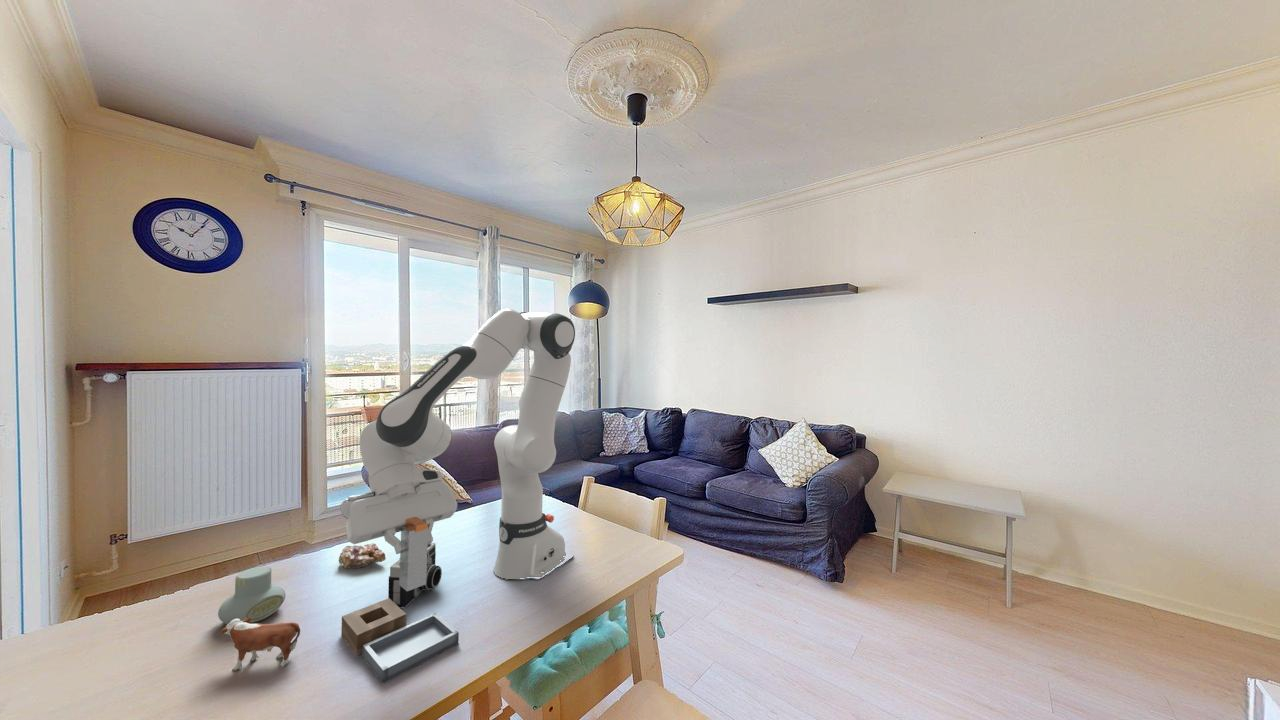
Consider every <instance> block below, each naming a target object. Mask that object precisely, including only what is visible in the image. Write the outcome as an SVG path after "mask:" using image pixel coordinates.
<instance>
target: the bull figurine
mask: <svg viewBox="0 0 1280 720" xmlns="http://www.w3.org/2000/svg"><path fill="white" fill-rule="evenodd" d="M250 620H251V618H246V619H244V620H243V621H240V619H234V620H232V621H231V622H230V623H229V624H226V625H225V627H224V628H222V629H221V630H220V635H221V634H222V635H223V634H224V635H229V637H230V639H231V641H232V643H233V644H234V645H233V647H234V648H235V649H236V650H237V651H238V656H237V659H236V660H237V663H236V664H235V665H234V667H233V668H232V670H231V671H233V672H237V671H238V670H239V669H240V668H242V667H243V664H242V663H243V661H244V659H245V658H246V657H245V656H246V654H247V653H251V658H250V659H249V661H250V662H255V660H257V659H258V658H259V654H258V653H257V652H264V651H267V652H268V653H269V652H271V651H272V649H274V647H275V648H278V649H280V651H281V652H279V654H278V655H276V658H277V659H281V658H282V657H283V659H282V661H281V662H280V664H279V665H278V666H279V668H282V667H284V666H285V665H286V664H288V662H289V659H290V658H289V657H290V654H291V653H292V652H293V651H294V649H296V645H297V643H298V638H299V637H300V635H301V628H300V625H299V623H298V622H278V623H264V624H263V623H259V622H256V623H252V624H249V623H248V622H249V621H250Z"/></svg>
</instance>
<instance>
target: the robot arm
mask: <svg viewBox="0 0 1280 720" xmlns="http://www.w3.org/2000/svg"><path fill="white" fill-rule="evenodd" d="M575 338H576V328H575V325H574V322H573V321H572V319H571V318H569V317H568V316H566V315H564V314H561V313H556V312H555V313H552V312H549V311H548V312H547V311H533V312H531V311H530V312H528V311H523V312H521V311H520V312H518V311H517V310H515V309H511V308H504V309H501V310H500V309H499V311H498V312H496V313H495V314H493V315H492V317H490V318H489V319H487V321H486V322H485V323H484V324H483V325H482V326H481V327H480V328H479V329H478V330H477V331H476V332H475V334H473V336H472V337H471V338H470V339H469V340H468V341H467V342H466V343H464V344H461V345H458V346H456V347H454V348H452V349H450V350H449V351H448V352H447V353H445V354H444V355H443V356H441V358H440V359H438V360H437V361H436V362H435V363H433V365H432V366H430V368H429V369H428V370H427V371H426V372H424V373H423V375H421V376H420V377H419V378H418V379H417V380H415V382H413V384H411V385H410V387H408V388H407V389H405V390H404V391H403V392H402V393H400V394H399V395H397V396H395V397H393V398H392V399H391V400H389V401H388V402H387V403H386V404H384V406H383V407H382V408H381V409H380V411H379V413H378V414H377V418H376V420H373V421H371V422H370V423H368V424H367V425H366V426H365V427H364V428H363V429H362V431H361V432H360V435H359V436H360V437H359V451H360V457H361V459H362V463H363V467H364V470H366V471H367V473H368V484H369V488H370V492H366V493H361V494H358V495H357V494H356V495H355V494H354V495H350V496H347V498H346V499H345V500H343V501H342V503H341V504H340V512H341V515H342V517H343V518H345V528H346V529H345V530H346V536H347V537H346V539H347V540H348V542H350V543H351V544H353V545H356V544H360V543H364V542H367V541H372V540H374V539H379V538H382V537H383V538H384V541H385V542H386V543H388V544H389V545H390V546H392V547H394V551H395V554H396V555H399V554H400V553H402V552H405V550H406V549H407V545H406V544H405V543H406V542H405V540H402V541H401V539H399V538H398V537H397V536H396V533H399V532H400V533H401V527H402V526H406V519H408V518H412V517H417V518H419V519H421V520H423V521H424V522H426V523H427V526H428V544H430V543H433V541H434V538H433V535H432V534H433V533H432V531H433V527H434V525H435V522H440V521H442V520H445V519H446V520H447V519H449V518H451V517H453V515H455V513H456V511H457V509H458V502H457V500H456V497H455V495H454V493H453V491H452V488H451V487H450V486H449V484H448V483H447V482H445V481H442V480H443V478H444V474H443V473H442V471H440V470H435V469H434V470H433V469H423V468H416V467H415V466H417V465H420V464H423V463H426V462H429V461H430V460H434V459H436V458H438V457H439V456H441V455H442V454H444V453H445V452H446V450H447V449H448V448H449V447H450V444H451V441H452V440H453V439H452V438H453V432H452V429H451V427H450V425H449V424H447V422H445V421H444V420H443V419H442V418H440V416H439V415H438V414H437V415H436V414H435V413H434V412H433V408H434V406H435V405H436V404H437V403H438V401H440V400H441V398H443V396H444V395H445V394H446V393H448V391H449V390H450V389H451V388H453V387H454V385H455V384H456V383H457V382H459V381H460V380H461V379H464V378H474V379H478V380H491V379H495V378H498V377H499V376H500V375H501V374H502V373H504V371H505V370H506V369H507V368H508V367H509V365H510V364H511V363H512V361H513V360H514V358H515V357H516V356H517V354H518V352H519V351H520V350H522V349H524V350H525V349H526V350H527V351H533V357H534V358H533V362H532V365H531V367H530V369H529V372H528V375H527V378H526V381H525V383H524V386H523V387H522V392H521V394H520V397H519V400H518V409H519V410H518V411H519V414H518V420H517V422H518V423H517V424H511V425H507V426H504V427H502V428H501V429H500V430H499V431H498V432H497V433H496V435H495V438H494V441H493V442H494V443H493V444H494V449H495V452H496V456H497V466H498V472H499V479H500V488H501V489H500V490H501V509H500V510H501V516H500V517H499V525H498V536H499V545H498V551H497V556H496V559H495V564H494V567H493V573H494V572H495V573H494V574H495V576H497V577H498V576H499V577H498V578H500V577H501V578H500V579H503V578H505V579H504V580H508V579H520V578H527V577H542V576H543V575H545V574H546V573H547V572H549V571H551V570H552V569H553V568H555V567H556V566H557V565H559V564H560V563H561V562H563V561H564V560H565V559H564V558H565V557H563V556H566V552H565V547H566V543H565V538H564V537H563V535H562V533H560V532H558V531H557V530H555V529H554V528H553V527H551V526H549V525H548V524H547V522H548V523H550V524H551V523H553V522H554V521H555V516H554V515H553V514H550V513H548V514H545V513H543V501H544V500H543V499H544V498H543V496H544V493H543V492H544V491H543V489H544V488H543V485H542V483H541V479H540V476H539V474H541V473H544V472H546V471H547V470H549V469H550V468H551V467H552V466H553V464H554V463H555V461H556V458H557V449H556V445H555V429H556V420H557V415H558V410H559V407H560V404H561V401H562V397H563V395H564V392H565V389H566V386H567V382H568V379H569V374H570V370H571V362H572V356H571V354H570V352H571V350H572V348H573V344H574V342H575ZM560 560H561V561H560ZM541 572H544V573H541Z"/></svg>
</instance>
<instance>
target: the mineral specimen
mask: <svg viewBox="0 0 1280 720" xmlns="http://www.w3.org/2000/svg"><path fill="white" fill-rule="evenodd" d="M386 559H387V558H386V554H385V552H384V551H383V550H382V549H379V547H378V546H377V543H374V542H373V543H369V544H368V543H367V544H364V545H356V544H353V545H346V546H345V547H343V549H342V552H341V553H339V557H338V564H340V565H342V568H343V569H349V568H353V569H358V568H359V569H360V568H362V567H367V566H369V564H370V563H371V562H372V563H382V562H384V561H386Z"/></svg>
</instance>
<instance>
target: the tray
mask: <svg viewBox="0 0 1280 720" xmlns="http://www.w3.org/2000/svg"><path fill="white" fill-rule="evenodd" d="M459 634H460V633H459V631H458V630H457V629H456V628H455V627H453V625H451V624H450V623H448V622H447V621H446V620H445V619H444V618H443V617H441V616H440V615H439V614H438V613H436V612H434V613H432V614H430V615H427V616H425V617H423V618H421V619H418V620H416V621H414V622H412V623H409V624H406V626H405V627H403V628H400V629H398V630H396V631H394V632H391V633H389V634H387V635H385V636H383V637H380V638H378V639H376V640H374V641H372V642H369V643H367V644H365V645H363V653H362V657H361V658H362V659H363V660H364V662H365V663H366V664H367V666H368V667H369V668H370V670H371V671H372V672H373V673H374V675H375V676H376V677H377V679H378V680H379V681H380V682H381V684H382V685H383V684H385V683H387V682H389V681H391V680H393V679H394V678H395V679H396V678H397V677H399V676H401V675H403V674H404V673H406V672H408V671H410V670H412V669H414V668H416V667H417V666H419V665H422V664H423V663H425V662H427V661H430V660H431V659H433V658H435V657H437V656H438V655H440V654H442V653H444V652H446V651H449V649H452V648H454V647H456V646H457V645H459V641H460V640H459V639H460V638H459V637H460V635H459Z"/></svg>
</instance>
